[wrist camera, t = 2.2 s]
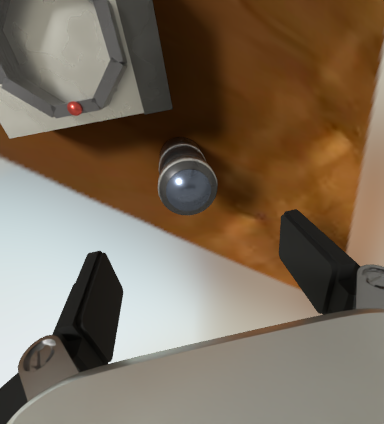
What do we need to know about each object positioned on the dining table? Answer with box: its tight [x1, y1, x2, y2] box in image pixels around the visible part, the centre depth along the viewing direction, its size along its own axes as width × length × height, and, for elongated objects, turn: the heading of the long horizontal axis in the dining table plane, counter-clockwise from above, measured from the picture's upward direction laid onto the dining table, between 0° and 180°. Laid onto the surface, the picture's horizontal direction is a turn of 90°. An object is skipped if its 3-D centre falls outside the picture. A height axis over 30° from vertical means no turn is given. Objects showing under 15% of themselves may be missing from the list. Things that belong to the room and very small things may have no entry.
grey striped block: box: [0, 0, 173, 138], centre depth 15 cm, size 12×9×7 cm
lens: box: [158, 137, 217, 215], centre depth 20 cm, size 5×5×8 cm
